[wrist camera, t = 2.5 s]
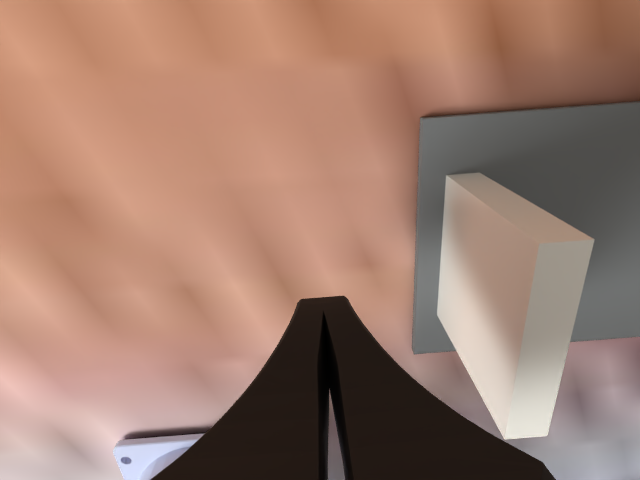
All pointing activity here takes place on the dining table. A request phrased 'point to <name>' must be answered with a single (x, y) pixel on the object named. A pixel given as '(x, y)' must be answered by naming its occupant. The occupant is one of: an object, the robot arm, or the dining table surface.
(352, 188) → the dining table surface
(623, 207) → the mat
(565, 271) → the tile
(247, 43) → the dining table surface
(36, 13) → the dining table surface
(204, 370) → the dining table surface
